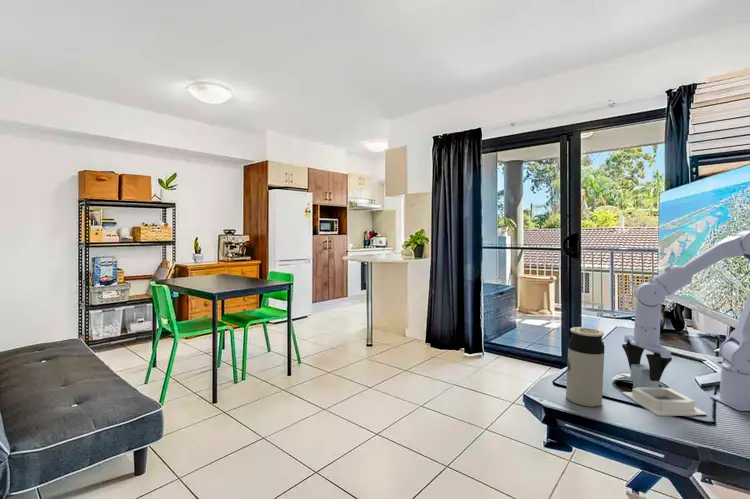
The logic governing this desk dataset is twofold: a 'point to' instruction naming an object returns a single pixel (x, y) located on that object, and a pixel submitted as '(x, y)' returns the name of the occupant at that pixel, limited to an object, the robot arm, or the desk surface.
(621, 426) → the desk surface
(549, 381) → the desk surface
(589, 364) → the travel mug
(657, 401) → the socket plate
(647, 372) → the plug block
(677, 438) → the desk surface
